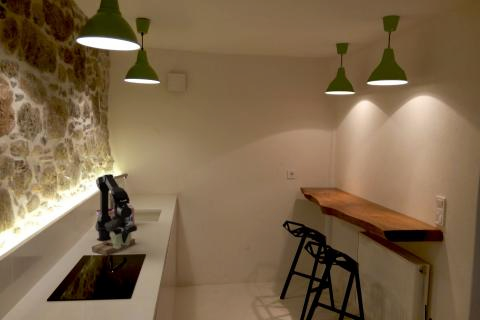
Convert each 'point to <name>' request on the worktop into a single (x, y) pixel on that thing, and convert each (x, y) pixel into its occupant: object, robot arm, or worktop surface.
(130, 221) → the gum box
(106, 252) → the brown wooden flat panel
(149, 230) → the worktop surface
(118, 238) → the sage green tapered block
